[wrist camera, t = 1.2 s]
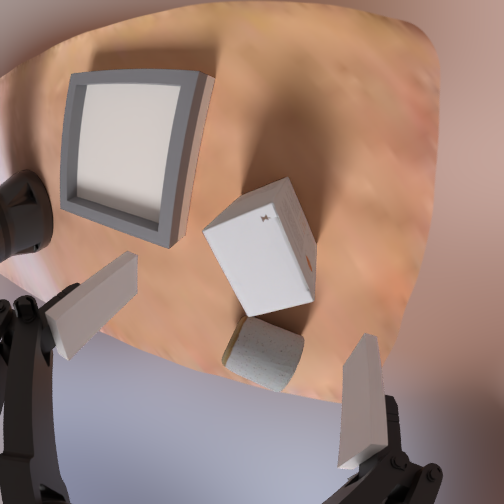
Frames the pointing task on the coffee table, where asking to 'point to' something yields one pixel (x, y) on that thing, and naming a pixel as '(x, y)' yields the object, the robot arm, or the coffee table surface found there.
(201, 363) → the coffee table surface
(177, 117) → the square gray-rimmed holder
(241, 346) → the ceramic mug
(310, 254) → the small box
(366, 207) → the coffee table surface
